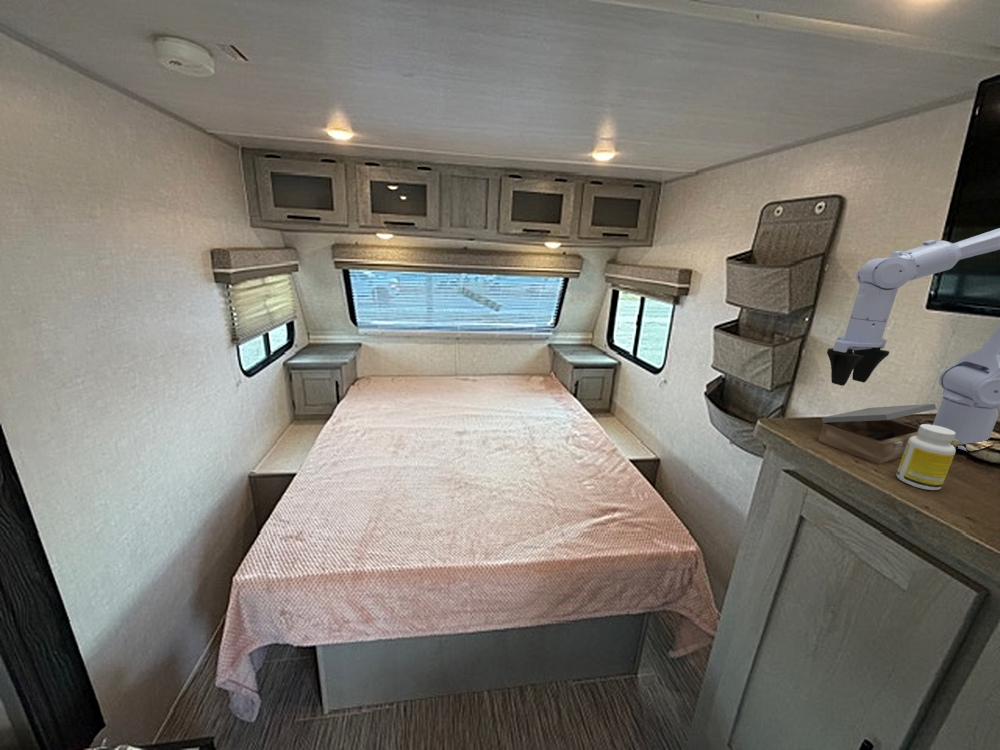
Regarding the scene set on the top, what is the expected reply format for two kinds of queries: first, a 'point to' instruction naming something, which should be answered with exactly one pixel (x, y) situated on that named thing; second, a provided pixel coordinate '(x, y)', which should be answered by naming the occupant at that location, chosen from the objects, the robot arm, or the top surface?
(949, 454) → the supplement bottle
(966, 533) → the top surface
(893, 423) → the box
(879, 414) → the lid
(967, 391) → the robot arm
